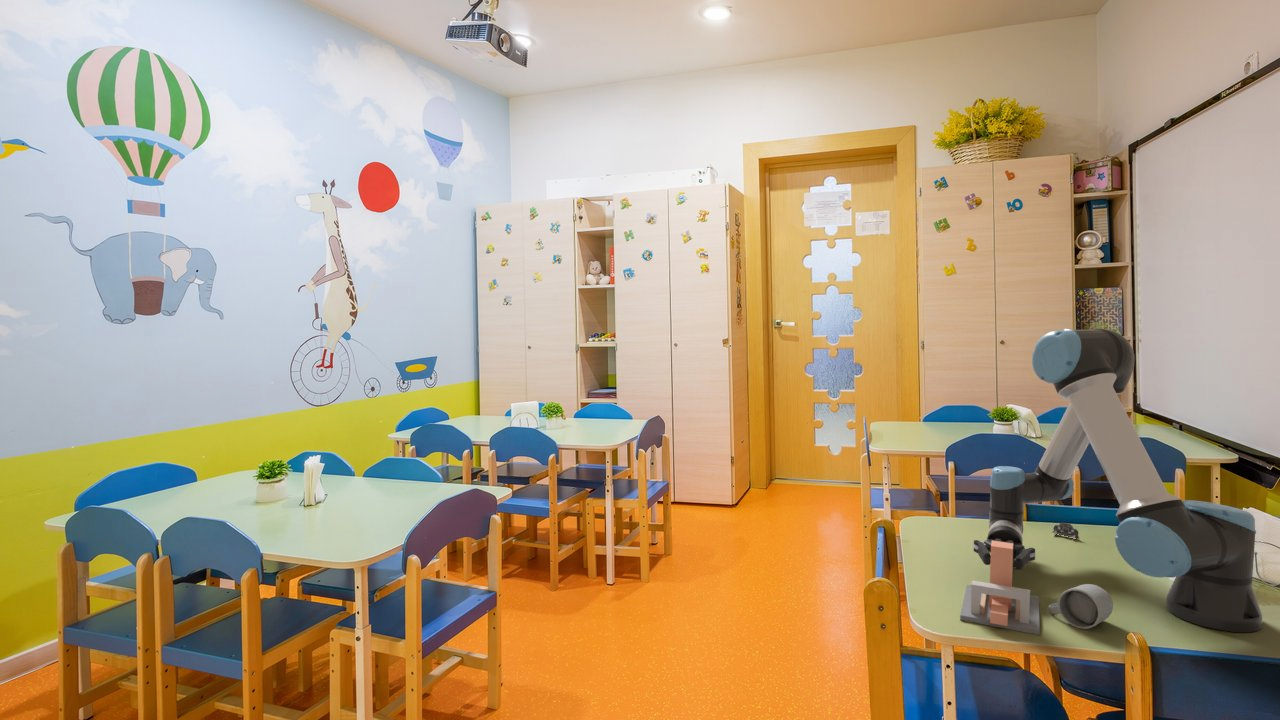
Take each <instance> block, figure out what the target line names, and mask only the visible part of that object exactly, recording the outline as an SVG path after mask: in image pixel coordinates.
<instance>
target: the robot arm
mask: <svg viewBox="0 0 1280 720" xmlns="http://www.w3.org/2000/svg"><path fill="white" fill-rule="evenodd" d="M1031 365H1032V369H1033V371H1034V374H1035V375H1036V376H1037V378H1039V379H1040V380H1041V381H1044V382H1045V383H1048V384H1053V386H1054V389H1055V390H1056V393H1057V395H1058V397H1060V398H1063V399H1065V400H1068V401H1069V404H1067V405H1068V406H1067V407H1066V410H1065V412H1064V413H1063V416H1062V418H1061V419H1060V421H1059V424H1058V425H1057V427H1056V429H1055V431H1054V434H1053V435H1052V437H1051V440H1050V442H1049V443H1048V445H1047V447H1046V449H1045V451H1044V452H1043V455H1042V457H1041V459H1040V461H1039V463H1038V464H1037V466H1036V468H1035V471H1034V472H1028V473H1025V472H1024V470H1023V469H1022V468H1019V467H1015V466H1010V465H1009V466H1008V465H1007V466H1006V465H1005V466H1004V465H999V466H994V467H993V468H992V469H991V474H990V480H989V486H990V487H989V492H990V493H989V499H990V500H989V515H988V516H989V519H988V520H989V521H988V523H989V524H988V532H987V537H986V540H984V541H981V540H977V539H974V540H973V552H975V553H976V554H978V556H979V558H980V559H981V561H982V563H983V564H984V565H986V566H990V561H991V542H992V541H1000V542H1007V543H1013V568H1015V570H1017V571H1021V570H1023V569H1024V568H1025V567H1026V566H1027V565H1028V564H1029V563H1030V562H1033V561H1035V560H1036V548H1035V547H1028V548H1027V547H1025V546H1024V545H1023V539H1024V538H1023V534H1024V509H1025V508H1024V505H1027V504H1035V503H1046V502H1057V501H1060V500H1065V499H1067V498H1070V497H1071V496H1072V494H1073V493H1074V486H1075V485H1074V483H1075V482H1074V480H1073V478H1072V475H1073V473H1074V472H1075V470H1076V468H1077V466H1078V464H1079V463H1080V460H1081V459H1082V457H1083V456H1084V453H1085V452H1086V450H1087V449H1088V448H1087V447H1088V446H1089V444H1090V445H1091V447H1092V450H1093V451H1094V454H1095V456H1096V458H1097V460H1098V462H1099V464H1100V466H1101V469H1102V470H1103V472H1104V474H1105V476H1106V478H1107V481H1108V482H1109V485H1110V487H1111V489H1112V490H1113V493H1114V495H1115V498H1116V500H1117V501H1118V504H1119V508H1118V509H1117V512H1116V514H1115V516H1116V518H1117V520H1118V522H1119V524H1118V526H1117V527H1116V529H1115V533H1116V535H1115V536H1114V542H1115V546H1116V548H1117V551H1118V553H1119V554H1120V556H1121V558H1122V559H1123V560H1124V561H1125V562H1126V563H1127V564H1128V565H1129V566H1130V568H1132V569H1134V570H1135V571H1137V572H1140V573H1141V574H1142V575H1145V576H1148V577H1151V578H1174V580H1173V582H1172V584H1171V586H1170V588H1169V590H1168V593H1167V594H1166V599H1165V600H1166V601H1165V602H1166V604H1165V608H1166V610H1167V612H1169V613H1170V614H1172V615H1174V616H1175V617H1177V618H1179V619H1181V620H1183V621H1186V622H1189V623H1192V624H1195V625H1197V626H1200V627H1201V626H1202V627H1205V628H1210V629H1213V630H1218V631H1224V632H1225V631H1226V632H1233V633H1252V632H1257V631H1259V630H1261V629H1262V628H1263V614H1262V611H1261V608H1260V604H1259V602H1258V600H1257V596H1256V594H1255V590H1254V587H1253V573H1254V560H1255V559H1254V557H1255V545H1256V544H1255V541H1256V534H1257V530H1256V519H1255V517H1254V515H1253V514H1252V513H1250V512H1248V511H1247V510H1244V509H1241V508H1237V507H1234V506H1230V505H1223V504H1219V503H1216V502H1215V503H1214V502H1209V501H1202V500H1193V499H1191V500H1190V499H1186V500H1182V498H1180V497H1178V496H1177V495H1174V494H1171V493H1169V492H1168V490H1167V488H1166V486H1165V485H1164V482H1163V481H1162V479H1161V477H1160V475H1159V473H1158V471H1157V468H1156V467H1155V465H1154V463H1153V461H1152V459H1151V457H1150V456H1149V453H1148V452H1147V450H1146V447H1145V446H1144V444H1143V443H1142V440H1141V438H1140V436H1139V434H1138V432H1137V430H1136V429H1135V426H1134V425H1133V423H1132V421H1131V419H1130V417H1129V415H1128V413H1127V411H1126V409H1125V406H1124V405H1123V404H1122V402H1121V399H1120V397H1119V395H1121V394H1123V393H1124V391H1125V390H1126V387H1127V385H1128V384H1129V382H1130V380H1131V378H1132V374H1133V373H1134V369H1135V368H1134V367H1135V353H1134V349H1133V346H1132V345H1131V343H1130V341H1129V340H1128V339H1127V338H1126V337H1124V336H1123V335H1122V333H1119V332H1117V331H1115V330H1113V329H1107V328H1095V329H1070V328H1064V329H1061V330H1059V329H1058V330H1052V331H1049V332H1047V333H1046V334H1044V335H1042V336H1041V337H1040V338H1039V339H1038V341H1037V342H1036V344H1035V346H1034V351H1033V352H1032V355H1031Z"/></svg>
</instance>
